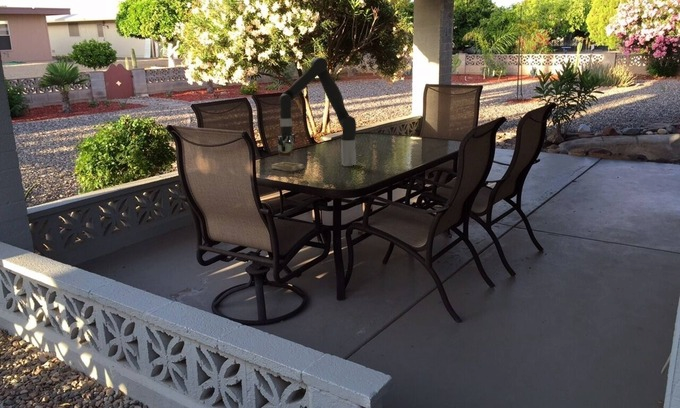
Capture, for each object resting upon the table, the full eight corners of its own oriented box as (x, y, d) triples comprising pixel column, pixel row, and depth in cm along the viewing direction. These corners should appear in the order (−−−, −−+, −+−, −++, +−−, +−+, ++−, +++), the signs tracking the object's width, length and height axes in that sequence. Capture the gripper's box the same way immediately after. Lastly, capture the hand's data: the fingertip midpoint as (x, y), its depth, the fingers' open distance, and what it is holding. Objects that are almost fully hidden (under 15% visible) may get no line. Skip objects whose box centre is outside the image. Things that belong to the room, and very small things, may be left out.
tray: (284, 166, 398) (284, 161, 398) (303, 168, 387) (303, 164, 387) (271, 168, 389) (271, 164, 389) (291, 171, 378) (291, 167, 378)
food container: (297, 155, 386) (297, 140, 384) (292, 157, 381) (291, 141, 378) (282, 154, 392) (282, 139, 390) (277, 155, 387) (276, 140, 385)
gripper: (289, 124, 389) (290, 149, 393) (274, 126, 379) (275, 151, 382) (298, 124, 385) (298, 150, 389) (282, 126, 374) (283, 152, 378)
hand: (287, 150), depth 386 cm, fingers closed on food container, 6 cm apart
